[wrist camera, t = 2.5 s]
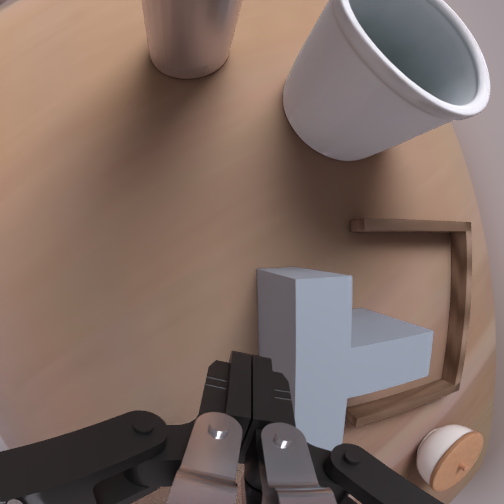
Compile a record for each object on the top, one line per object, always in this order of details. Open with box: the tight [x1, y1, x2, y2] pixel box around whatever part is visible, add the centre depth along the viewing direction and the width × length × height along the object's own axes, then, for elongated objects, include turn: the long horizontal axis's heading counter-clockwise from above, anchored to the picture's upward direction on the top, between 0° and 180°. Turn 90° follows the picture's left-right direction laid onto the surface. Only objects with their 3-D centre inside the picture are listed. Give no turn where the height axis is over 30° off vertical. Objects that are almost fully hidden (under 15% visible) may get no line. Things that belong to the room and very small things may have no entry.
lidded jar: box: [417, 425, 483, 491], centre depth 32 cm, size 11×11×9 cm
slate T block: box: [257, 267, 433, 451], centre depth 26 cm, size 14×12×12 cm
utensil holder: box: [283, 0, 490, 161], centre depth 24 cm, size 15×15×18 cm
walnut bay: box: [345, 218, 472, 427], centre depth 33 cm, size 23×18×3 cm
